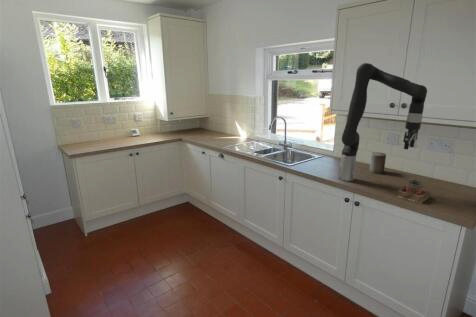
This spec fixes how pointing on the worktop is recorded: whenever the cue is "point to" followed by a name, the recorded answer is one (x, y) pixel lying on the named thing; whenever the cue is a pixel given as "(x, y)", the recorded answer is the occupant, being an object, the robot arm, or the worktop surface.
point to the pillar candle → (377, 162)
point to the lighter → (414, 187)
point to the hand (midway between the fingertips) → (408, 148)
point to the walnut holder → (420, 199)
